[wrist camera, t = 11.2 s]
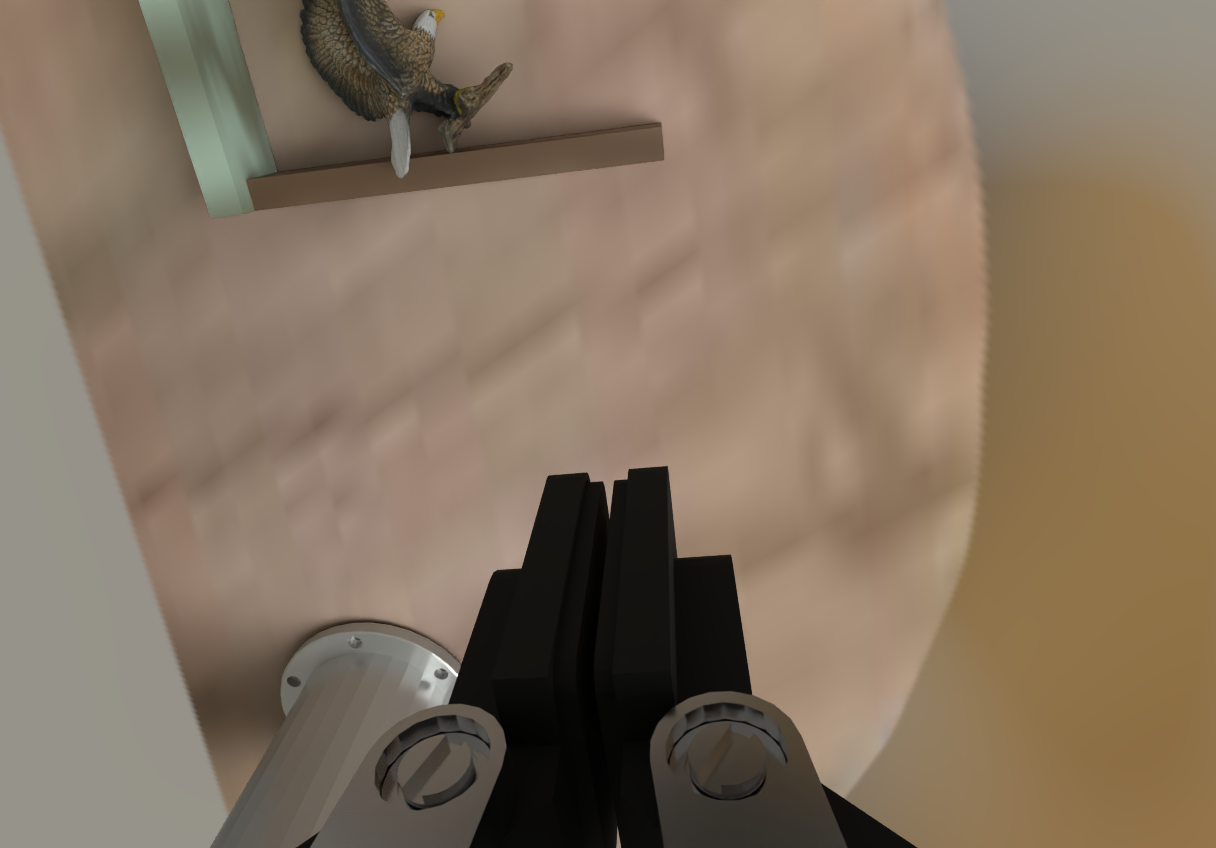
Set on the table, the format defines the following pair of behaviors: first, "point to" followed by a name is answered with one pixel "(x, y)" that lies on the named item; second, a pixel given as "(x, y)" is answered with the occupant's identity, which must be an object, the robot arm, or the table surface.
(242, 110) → the walnut guide
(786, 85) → the table surface
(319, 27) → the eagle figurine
